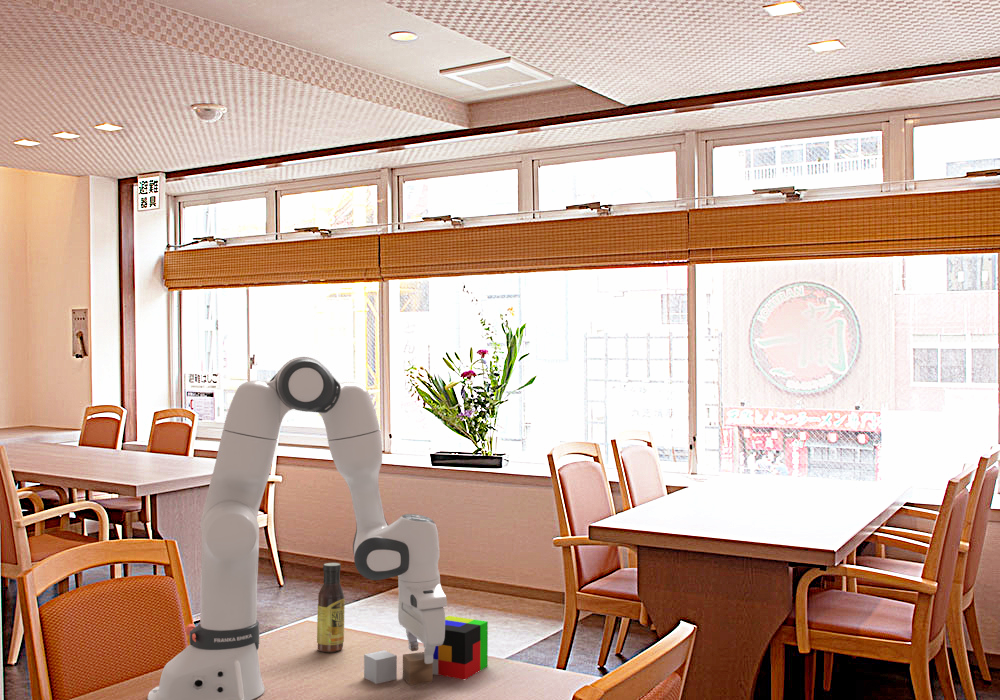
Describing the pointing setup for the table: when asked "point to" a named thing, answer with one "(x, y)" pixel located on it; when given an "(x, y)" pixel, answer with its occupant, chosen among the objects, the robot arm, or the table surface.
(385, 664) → the grey block
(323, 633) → the sauce bottle
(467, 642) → the puzzle toy
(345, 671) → the table surface
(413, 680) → the walnut block
